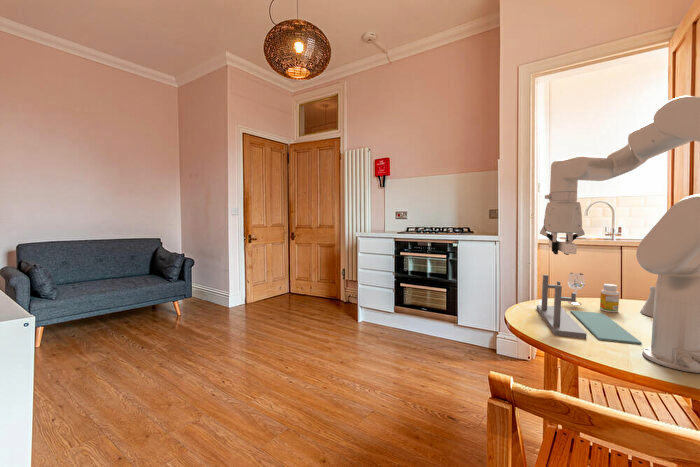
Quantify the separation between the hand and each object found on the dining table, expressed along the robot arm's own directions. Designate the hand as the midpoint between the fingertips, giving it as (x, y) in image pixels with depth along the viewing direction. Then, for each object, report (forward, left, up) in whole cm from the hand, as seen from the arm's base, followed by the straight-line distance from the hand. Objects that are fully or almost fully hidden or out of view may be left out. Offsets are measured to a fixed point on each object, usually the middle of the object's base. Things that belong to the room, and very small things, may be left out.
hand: (560, 253), depth 109 cm
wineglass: (+28, -12, -23) cm, 38 cm away
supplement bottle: (+21, -21, -23) cm, 38 cm away
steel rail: (0, 0, +1) cm, 1 cm away
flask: (+20, -34, -23) cm, 46 cm away
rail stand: (0, 0, -23) cm, 23 cm away
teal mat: (0, -12, -23) cm, 26 cm away
